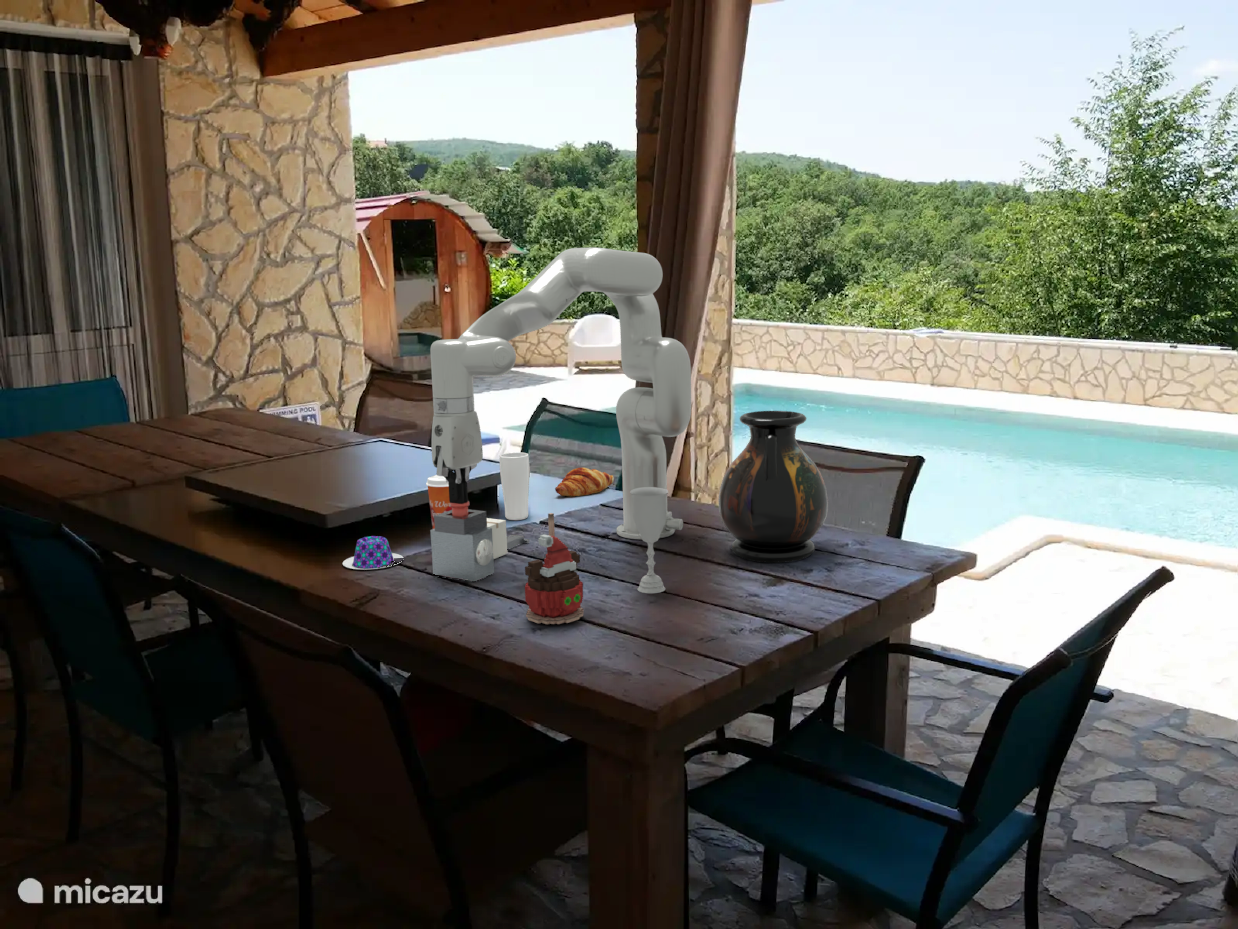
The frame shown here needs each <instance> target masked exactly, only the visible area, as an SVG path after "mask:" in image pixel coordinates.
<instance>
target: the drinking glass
mask: <svg viewBox="0 0 1238 929" xmlns="http://www.w3.org/2000/svg"><path fill="white" fill-rule="evenodd" d="M499 473H500V475H499V476H500V481H501V482H500V483H501V488H502V489H501V490H502V496H503V503H504V516H505V518H506V520H509V521H522V520H526V519H527V518H528V517H529V492H530V490H529V489H530V457H529V453H526V452H519V451H518V452H505V453H501V454H500V455H499Z"/></svg>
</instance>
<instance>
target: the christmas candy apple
mask: <svg viewBox="0 0 1238 929" xmlns="http://www.w3.org/2000/svg"><path fill="white" fill-rule="evenodd" d="M547 517H548V518H547V519H548V521H547V522H548V524H547V525H548V534H540V535H539V537H538V538H537V539H538V545H539V546H541V547H543V548H546V554H545V558H543V559H544V560H541V559H533V560H531V561H528V562H527V566H525V567H524V573H525V576H526V577H527V582H526V583H525V586H524V596H525V597H524V598H525V599H524V600H525V602H526V604H527V605H528V609H527V611H526V613H525V616H526V618H527V620H528V621H530V622H534V623H536V624H541V623H542V624H545V625H550V624H551V625H556V624H557V625H561V624H564V623H566V624H568V623H573V622H575V621H578V620H580V618H581V617H584V608H582V606H581V604H582V603H583V599H584V589H583V588H584V587H583V586H584V585H583V584H584V582H583V581H581V579H580V574H578V572H576V570H577V568H578V564H580V563H581V555H580V554H579V553H578V552H577V551H574V550H569V546H567V545H565V543H564V542H562V540H561V539H560V538H559V537H557V536H555V513H552V512H550V513H547ZM543 561H544V562H543Z"/></svg>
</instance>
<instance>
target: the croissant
mask: <svg viewBox="0 0 1238 929" xmlns="http://www.w3.org/2000/svg"><path fill="white" fill-rule="evenodd" d="M614 479H615V478H614V475H613V474H612V475H610V474H609V473H607V472H605V471H603V472H601V471H600V470H597V469H595V468H592V469H590V468H588V467H577V468H573V469H571V470H570V471H569V472H567V473H566V475H565V477H564V478H563V479H562V480H561V482H560V483H559V484H558V485H557V486H555V488H554V489H555V493H557V494H558V495H560V496H561V497H565V496H566V497H575V496H578V497H580V496H581V497H583V496H589V495H593V494H598V493H600V492H602V491H604V490H606V489H608V487H610V486H611V485H612V484H613V483H614V481H615V480H614Z"/></svg>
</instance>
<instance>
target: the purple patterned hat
mask: <svg viewBox="0 0 1238 929" xmlns="http://www.w3.org/2000/svg"><path fill="white" fill-rule="evenodd" d="M355 544H356V545H355V549H354V556H350V557H348V558H346V559H345V560H343V562H342V565H343V567H345V568H347V569H353V570H364V571H365V570H366V571H367V570H370V569H373V570H378V569H380V568H381V569H385V568H389V567H392V565H391V566H389V564H390V563H391V561H394V558H404V557H403V555H401V554H398V553H394V552H392V550H391V547H390V543H389V541H388V539H387V538H386V537H384V536H380V535H379V536H378V535H377V536H376V535H371V536H364V537H362V538H359V539H357V541H356V543H355ZM394 562H395V561H394ZM400 563H401V562H399V563H397V564H394V565H393V566H395V565H398V564H400ZM383 565H388V566H387V567H386V566H383ZM381 566H383V567H381ZM378 567H380V568H378Z"/></svg>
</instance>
